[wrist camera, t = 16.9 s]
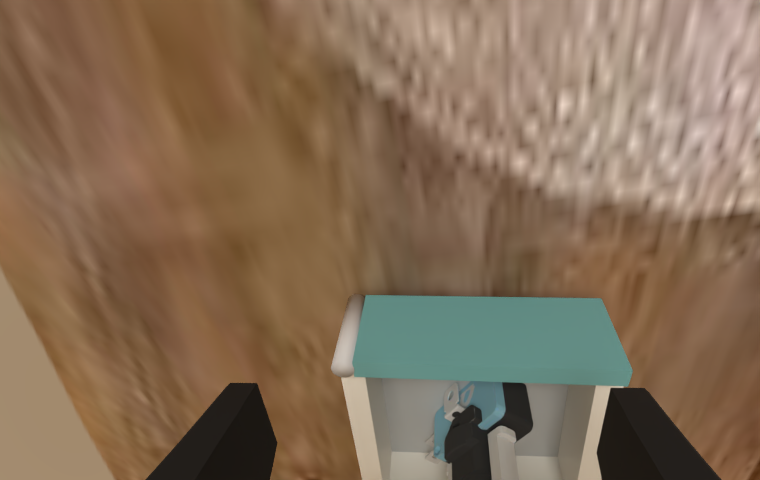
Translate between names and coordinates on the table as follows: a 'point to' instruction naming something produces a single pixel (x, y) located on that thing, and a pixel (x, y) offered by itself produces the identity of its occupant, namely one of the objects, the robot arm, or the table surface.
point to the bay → (425, 397)
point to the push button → (481, 430)
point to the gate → (481, 340)
